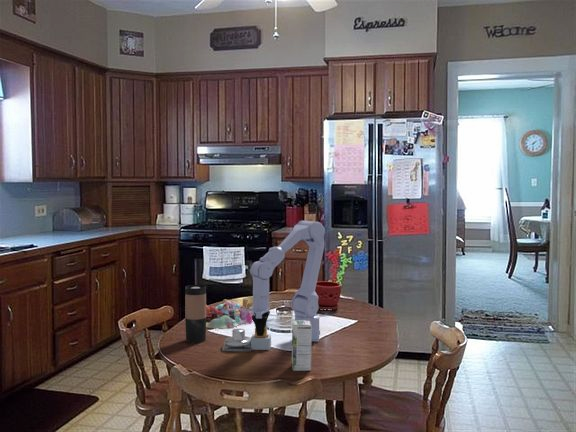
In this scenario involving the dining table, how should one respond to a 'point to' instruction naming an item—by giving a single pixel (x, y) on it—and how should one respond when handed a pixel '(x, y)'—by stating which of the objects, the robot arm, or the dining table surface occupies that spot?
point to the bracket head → (261, 343)
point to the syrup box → (301, 345)
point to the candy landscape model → (228, 314)
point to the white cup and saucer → (237, 342)
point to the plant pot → (328, 294)
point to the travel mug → (195, 313)
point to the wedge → (263, 335)
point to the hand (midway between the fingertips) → (261, 333)
